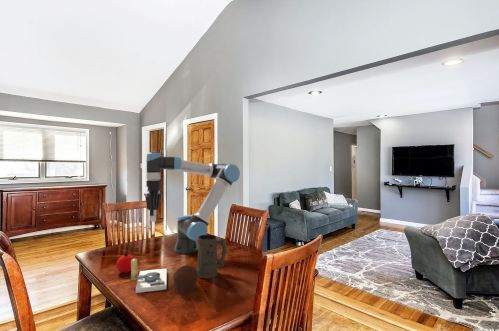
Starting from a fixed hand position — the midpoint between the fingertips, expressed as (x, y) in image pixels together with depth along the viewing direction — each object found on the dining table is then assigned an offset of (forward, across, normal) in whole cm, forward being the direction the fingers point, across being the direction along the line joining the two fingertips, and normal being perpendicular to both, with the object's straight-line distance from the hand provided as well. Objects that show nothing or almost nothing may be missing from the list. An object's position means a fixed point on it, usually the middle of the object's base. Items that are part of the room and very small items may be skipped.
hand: (153, 221), depth 152 cm
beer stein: (+25, +1, +37) cm, 45 cm away
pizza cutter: (+22, +22, +13) cm, 34 cm away
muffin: (+25, +20, +34) cm, 46 cm away
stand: (+24, +19, +14) cm, 34 cm away
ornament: (+25, +14, -6) cm, 29 cm away
